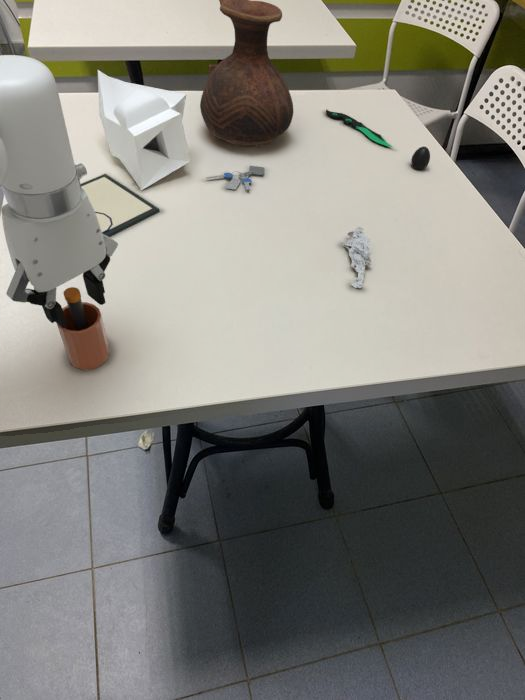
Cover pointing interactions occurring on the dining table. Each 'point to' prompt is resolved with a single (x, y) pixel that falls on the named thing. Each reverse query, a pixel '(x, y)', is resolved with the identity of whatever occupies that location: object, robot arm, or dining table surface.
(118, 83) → the folded paper
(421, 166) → the egg
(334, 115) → the knife
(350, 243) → the paper
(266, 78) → the jug
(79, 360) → the pen cup
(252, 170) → the key chain
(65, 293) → the marker
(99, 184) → the drawing mat
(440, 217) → the dining table surface
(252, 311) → the dining table surface
